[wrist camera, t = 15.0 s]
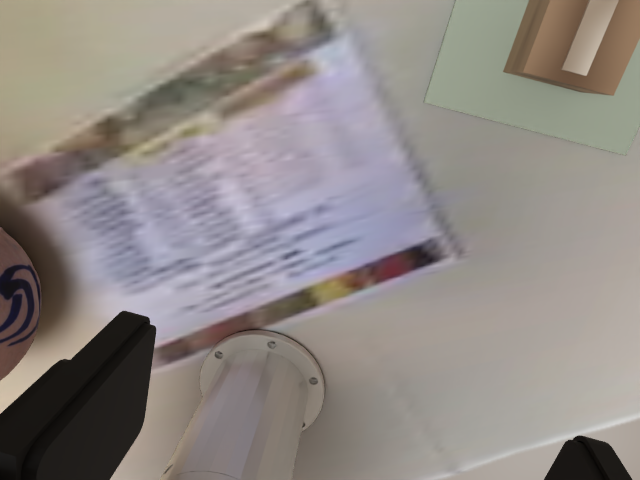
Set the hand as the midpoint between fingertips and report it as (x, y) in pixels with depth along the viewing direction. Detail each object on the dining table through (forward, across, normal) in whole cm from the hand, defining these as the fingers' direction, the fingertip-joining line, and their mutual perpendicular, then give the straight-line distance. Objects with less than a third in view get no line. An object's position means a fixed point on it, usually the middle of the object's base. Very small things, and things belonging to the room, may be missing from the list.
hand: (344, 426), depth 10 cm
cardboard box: (+30, -11, -14) cm, 35 cm away
